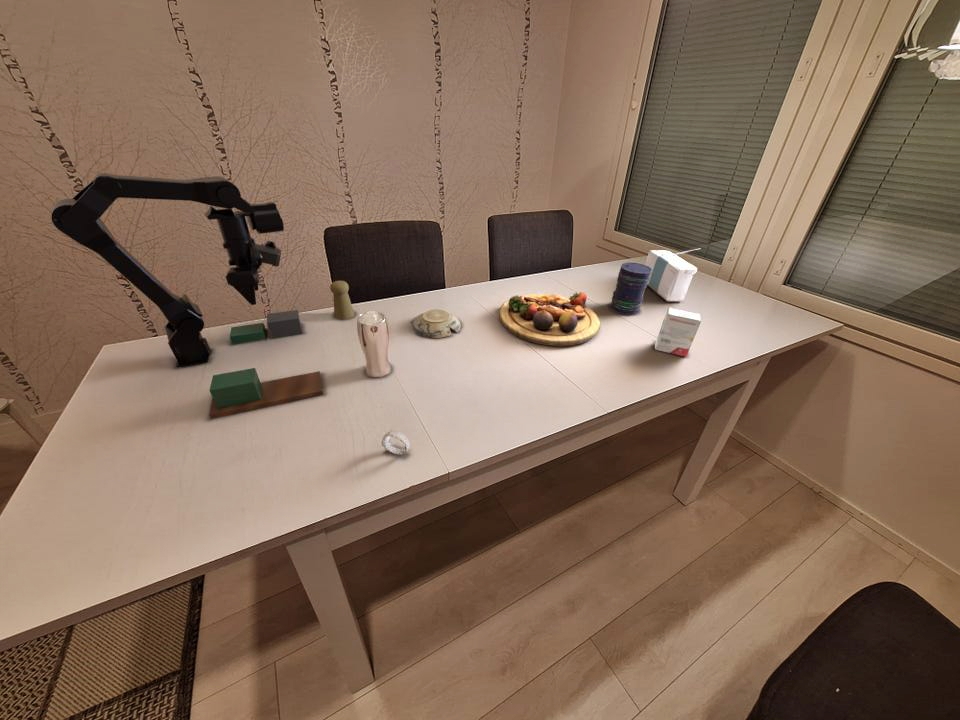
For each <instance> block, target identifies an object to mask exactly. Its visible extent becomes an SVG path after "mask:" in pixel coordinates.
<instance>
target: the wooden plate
mask: <svg viewBox="0 0 960 720" xmlns="http://www.w3.org/2000/svg"><path fill="white" fill-rule="evenodd" d="M587 299H588V297H587V294H586V293H585V292H583V291H582V292H581V291H579V292H574V293H572V295H569V297H568V298H567V297H565V296H561V295H559V294H546V293H545V294H542V293H531V294H524V295H513V296H511V297H510V298H509V300H507V301H506V302H504V303H503V304H502V305H501V307H500V309H499V314H498V317H499V320H500V322H501V323H502V325H503V326H504V328H505V329H506V330H508V331H509V333H511V334H513V335H514V336H516V337H519V338H521V339H523V340H526V341H528V342H532V343H535V344H540V345H545V346H553V347H554V346H555V347H556V346H558V347H565V346H566V347H567V346H575V345H579V344H583V343H586V342H588V341H590V340H592V339H593V338H594V337H596V336H597V334H598V333H599V331H600V328H601V321H600V318H599V316H598V315H597V314H596V313H595V312H594V310H593V309H591V308H590V307H588V306H586V303H587Z"/></svg>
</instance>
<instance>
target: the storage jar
mask: <svg viewBox="0 0 960 720" xmlns="http://www.w3.org/2000/svg"><path fill="white" fill-rule="evenodd" d="M651 271H652V269H651V268H650V267H648V266H646V265H645V264H643V263H638V262H624V263H622V264H621V265H620V269H619V272H618V274H617V278H616V286H615V290H614V291H613V293H612V296H611V302H610V305H609V308H610V309H611V310H612V311H613V312H614V313H615V312H616V313H617V314H620V315H625V316H635V315H636V314H639V312H640V308H641V306H642V304H643V301H644V294H645V290H646V288H648V282H649V279H650V274H651Z"/></svg>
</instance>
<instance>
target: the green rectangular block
mask: <svg viewBox="0 0 960 720" xmlns="http://www.w3.org/2000/svg"><path fill="white" fill-rule="evenodd" d="M266 337H267V328H266V326H265V323H264V322H258V323H251V324H245V325H237V326H231V327H230V332H229V340H230V342H231V345H239V344H245V343H251V342H252V343H253V342H258V341H264V340H266Z"/></svg>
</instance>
